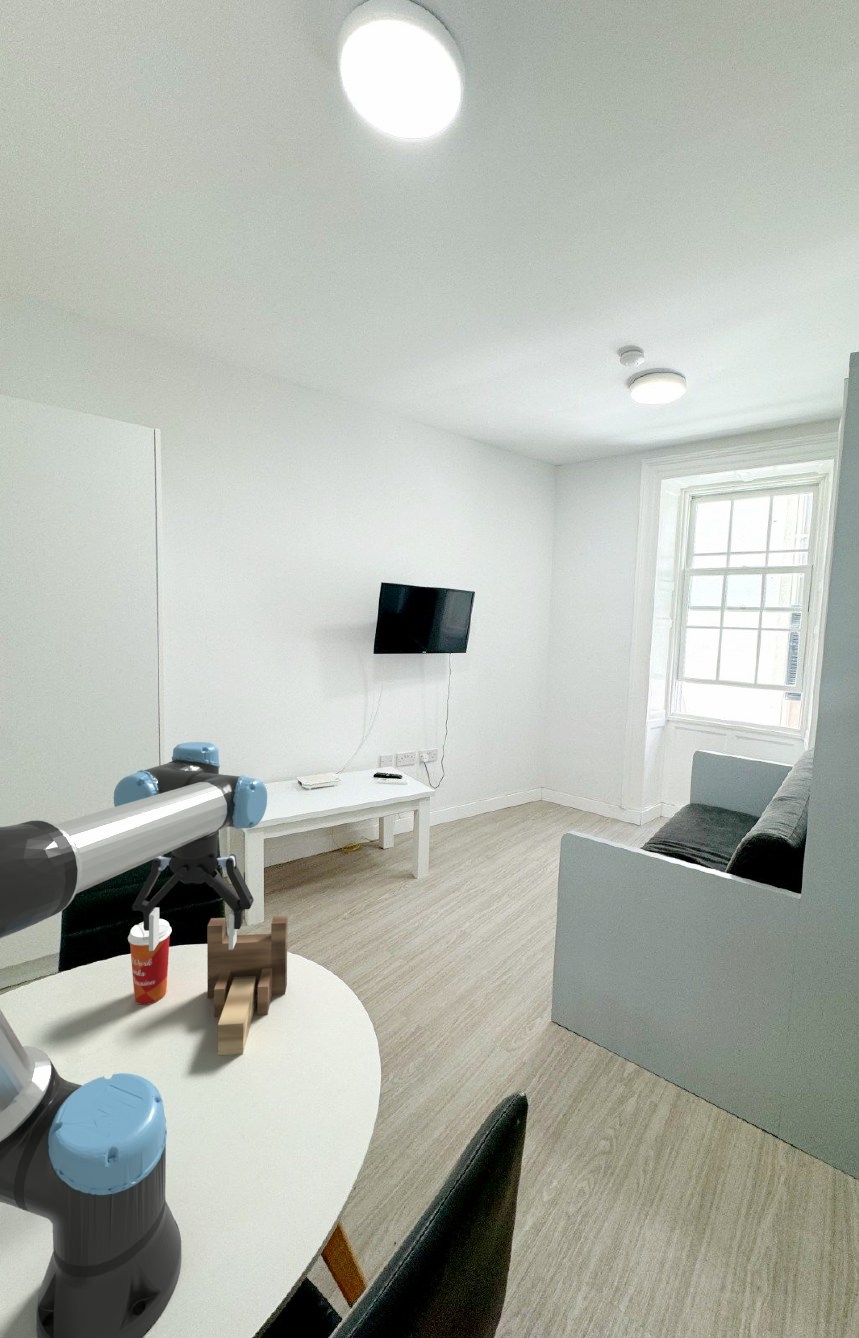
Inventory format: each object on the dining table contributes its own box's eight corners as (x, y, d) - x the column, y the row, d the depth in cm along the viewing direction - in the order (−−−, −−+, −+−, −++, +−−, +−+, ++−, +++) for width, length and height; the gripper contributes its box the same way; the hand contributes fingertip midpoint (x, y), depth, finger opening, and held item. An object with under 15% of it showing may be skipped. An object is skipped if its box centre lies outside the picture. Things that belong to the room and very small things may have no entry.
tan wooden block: (243, 1053, 104) (243, 1023, 104) (217, 1055, 104) (217, 1024, 103) (256, 1003, 118) (256, 976, 117) (233, 1004, 117) (234, 977, 117)
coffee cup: (121, 997, 118) (119, 929, 117) (158, 977, 125) (158, 913, 124) (142, 1014, 114) (141, 943, 112) (180, 992, 120) (179, 925, 119)
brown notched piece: (281, 1013, 115) (282, 938, 114) (199, 1018, 113) (199, 942, 112) (286, 984, 124) (287, 915, 123) (211, 988, 122) (211, 918, 120)
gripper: (270, 823, 105) (268, 933, 106) (130, 822, 102) (129, 935, 103) (263, 838, 97) (260, 956, 99) (111, 837, 95) (110, 959, 96)
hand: (193, 946), depth 101 cm, fingers open, 13 cm apart
